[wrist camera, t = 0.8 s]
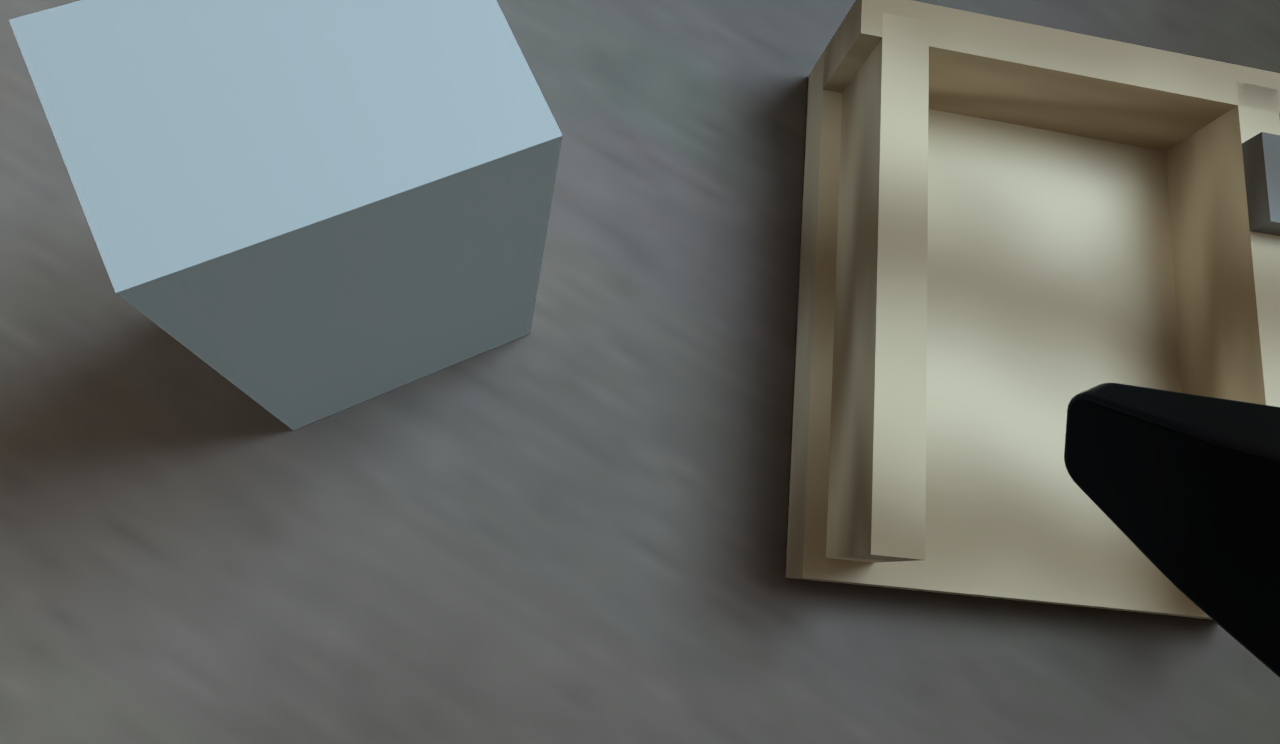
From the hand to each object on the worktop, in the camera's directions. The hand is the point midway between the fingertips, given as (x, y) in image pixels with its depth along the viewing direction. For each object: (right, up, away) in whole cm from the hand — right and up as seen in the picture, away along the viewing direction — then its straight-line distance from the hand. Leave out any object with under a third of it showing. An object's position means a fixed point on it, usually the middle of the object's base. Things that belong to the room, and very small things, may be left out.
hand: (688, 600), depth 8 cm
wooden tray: (+10, +3, +16) cm, 19 cm away
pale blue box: (-7, +4, +13) cm, 15 cm away
